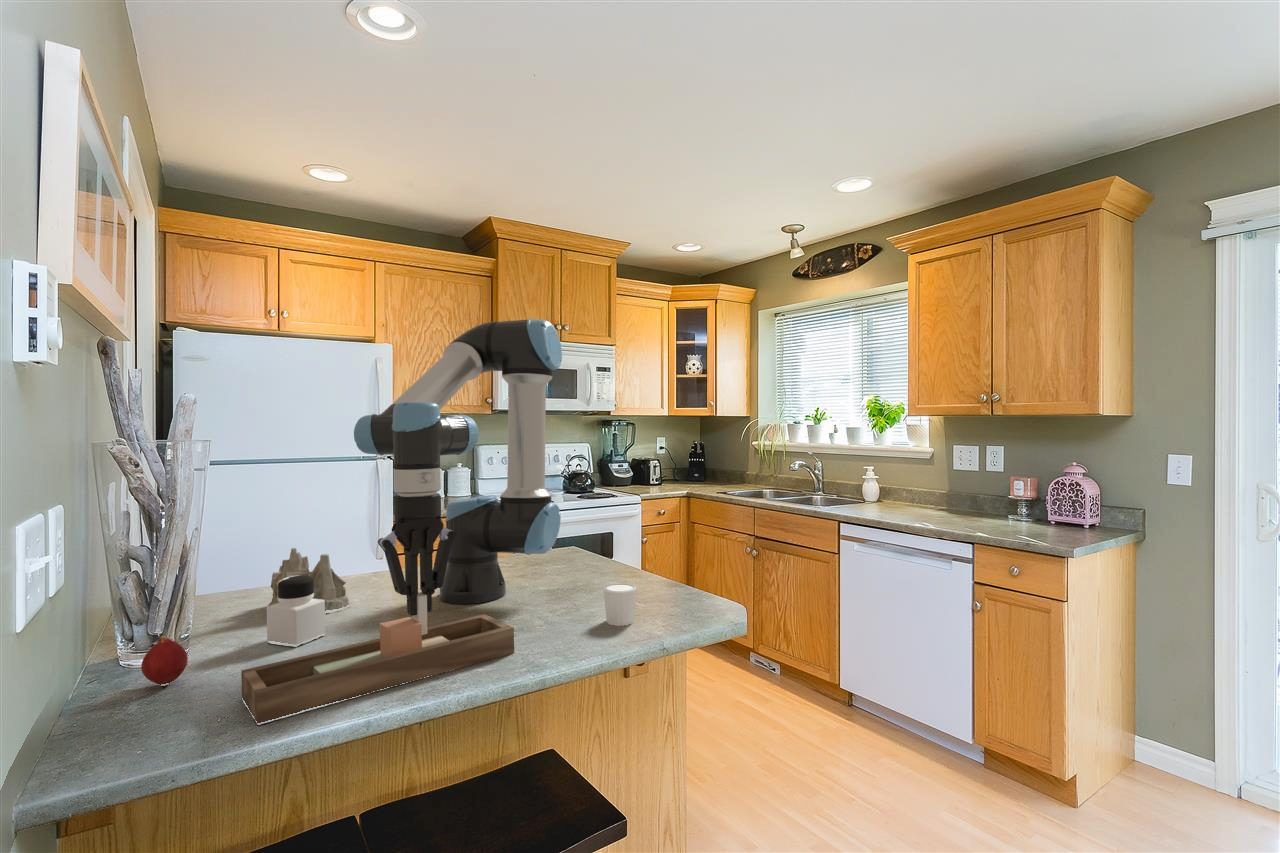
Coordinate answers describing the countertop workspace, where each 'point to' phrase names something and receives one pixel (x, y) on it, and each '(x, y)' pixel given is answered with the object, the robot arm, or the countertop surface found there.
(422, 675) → the brown wooden long tray
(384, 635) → the block
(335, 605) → the rock mountain model
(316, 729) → the countertop surface
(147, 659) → the onion
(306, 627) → the medicine bottle
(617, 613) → the white cup
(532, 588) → the countertop surface
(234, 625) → the countertop surface
